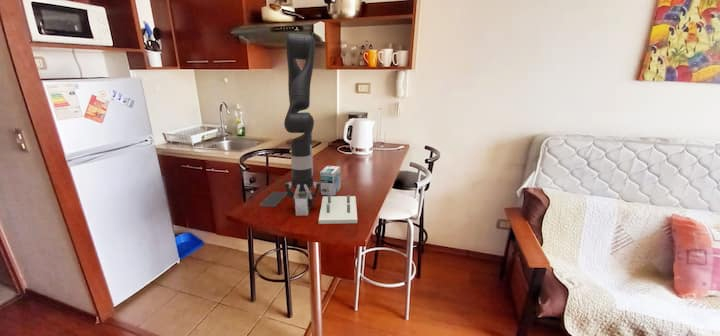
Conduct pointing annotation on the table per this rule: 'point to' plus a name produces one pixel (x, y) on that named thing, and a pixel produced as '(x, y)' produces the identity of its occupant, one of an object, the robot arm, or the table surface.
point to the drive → (302, 204)
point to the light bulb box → (330, 180)
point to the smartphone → (274, 199)
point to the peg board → (338, 210)
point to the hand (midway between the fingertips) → (303, 206)
